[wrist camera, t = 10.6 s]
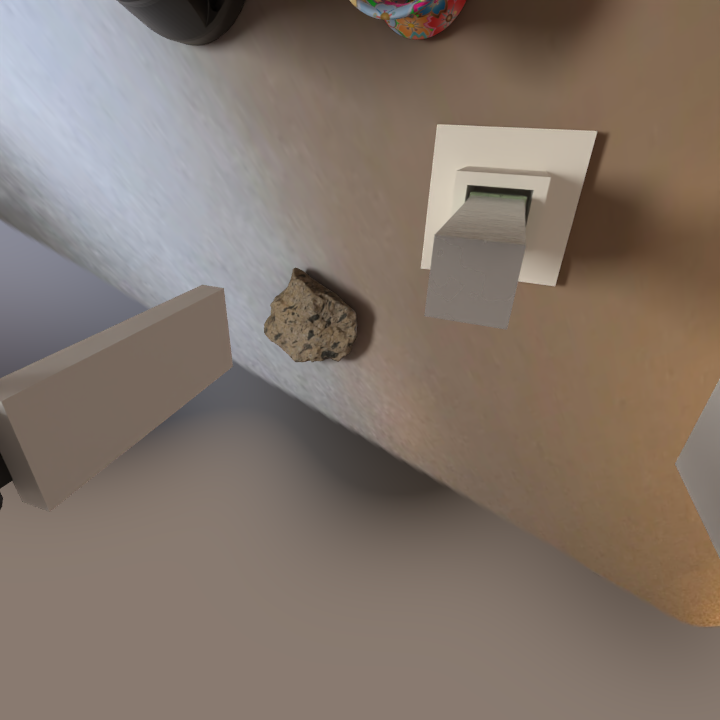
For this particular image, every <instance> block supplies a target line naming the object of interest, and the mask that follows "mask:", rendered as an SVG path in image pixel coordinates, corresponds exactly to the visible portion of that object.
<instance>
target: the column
mask: <svg viewBox="0 0 720 720" xmlns="http://www.w3.org/2000/svg"><path fill="white" fill-rule="evenodd" d="M526 200H527V196H524V195H515V194H503V193H491V192H479V191H475V192H471V193H470V197H469V199H468V200H467V201H466V202H465V203H464V204H463V205H462V206H461V207H460V208H459V209H458V210H457V211H456V212H455V214H454V215H453V216H452V217H451V218H450V219H449V220H448V221H447V222H446V223H445V224H444V225H443V226H442V227H441V229H440V230H439V231H438V232H437V233H436V234H435V235H434V243H433V251H432V259H431V267H430V275H429V283H428V291H427V299H426V307H425V315H424V316H427V317H433V318H440V319H446V320H452V321H458V322H464V323H470V324H476V325H482V326H488V327H494V328H500V329H507V327H508V323H509V318H510V314H511V310H512V305H513V301H514V296H515V292H516V288H517V283H518V279H519V275H520V270H521V266H522V261H523V257H524V253H525V248H526V227H525V204H526Z"/></svg>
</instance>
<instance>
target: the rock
mask: <svg viewBox="0 0 720 720" xmlns="http://www.w3.org/2000/svg"><path fill="white" fill-rule="evenodd" d="M270 306H271V307H272V308H271V316H269V317H268V319H267V320H266V322H265V324H264V326H265V327H264V333H265V335H266V336H267V337H268V338H269V339H270V340H271V341H272V342H274V343H276V344H277V345H278V346H280V347H281V348H282V349H283V350H284V351H285V352H286V353H287V354H289V356H290V357H291V358H292V359H293V360H294V361H295V362H306V361H309V360H310V361H312V362H314V361H323V360H325V359H327V358H331V359H333V360H335V361H339V360H341V359H342V358H343V357H345V356H346V355H347V354H349V353H350V351H351V349H352V344H353V342H354V341H355V339H356V334H357V330H356V328H357V316H356V313H355V311H354V310H353V309H352V308H351V307H350V306H348V305H347V304H346V303H344V302H343V301H342V300H341V298H340V297H339V296H338V295H337V294H335V293H334V292H331V291H330V290H328V289H327V288H325V287H324V286H322V285H321V284H320V283H319V282H317V281H315V280H314V279H312V278H311V277H310V276H309V275H308V274H306V273H305V272H304V271H302V270H300V269H298V268H294V269H293V273H292V277H291V280H290V282H289V285H288V287H287V288H286V289H285V290H284V291H283V292H282V293H280V294H279V295H278V296H276V297H275V299H274V301H273V302H272V303H271V305H270Z"/></svg>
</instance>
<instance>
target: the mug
mask: <svg viewBox="0 0 720 720" xmlns="http://www.w3.org/2000/svg"><path fill="white" fill-rule="evenodd" d="M350 2H351V3H352V4H353V5H354V6H355V7H356V8H358V9H359V10H360V11H362V12H363V13H365V14H367V15H368V16H371V17H373V18H376V19H381V20H385V22H386V23H387V24H388V26H389V27H390V28H391V29H392V30H393V31H395V32H396V33H397V34H399V35H401V36H403V37H405V38H409V39H425V38H429V37H432V36H434V35H436V34H438V33H440V32H441V31H443V30H444V29H445V28H447V27H448V26H449V25H450V24H451V23H452V22H453V21H454V19H455V18H456V17H457V16H458V14H459V13H460V11H461V10H462V8H463V6H464V4H465V2H466V0H350Z"/></svg>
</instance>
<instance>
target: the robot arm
mask: <svg viewBox="0 0 720 720" xmlns="http://www.w3.org/2000/svg"><path fill="white" fill-rule="evenodd" d="M117 1H118V2H119V3H120V4H122V5H123V6H124V7H125V8H126V9H127V10H129V11H130V12H131V13H132V14H133V15H134V16H136V17H137V18H138V19H139V20H140V21H142V22H143V23H144V24H145V25H146V26H147V27H149V28H150V29H151V30H153V31H154V32H156V33H157V34H159V35H161V36H163V37H165V38H167V39H170V40H173V41H177V42H180V43H184V44H189V45H201V44H206V43H209V42H212V41H214V40H216V39H217V38H219V37H220V36H221V35H223V34H224V33H225V32H226V31H227V30H228V29H229V28H230V27H231V25H232V24H233V23H234V21H235V20H236V18H237V16H238V15H239V13H240V11H241V9H242V6H243V4H244V1H245V0H117ZM232 366H233V364H232V355H231V347H230V338H229V330H228V321H227V313H226V304H225V295H224V288H219V287H213V286H207V285H201V286H199V287H197V288H195V289H192V290H190V291H188V292H186V293H184V294H182V295H179V296H177V297H175V298H173V299H171V300H169V301H167V302H164V303H162V304H160V305H158V306H156V307H154V308H151V309H149V310H147V311H145V312H143V313H141V314H138V315H136V316H134V317H132V318H130V319H128V320H126V321H123V322H121V323H119V324H117V325H115V326H113V327H110V328H108V329H106V330H104V331H102V332H100V333H97V334H95V335H93V336H91V337H89V338H87V339H84V340H82V341H80V342H78V343H76V344H74V345H72V346H69V347H67V348H65V349H63V350H61V351H59V352H56V353H54V354H52V355H50V356H48V357H46V358H43V359H41V360H39V361H37V362H35V363H33V364H31V365H28V366H26V367H24V368H22V369H20V370H18V371H16V372H13V373H11V374H9V375H7V376H5V377H2V378H0V488H2V487H3V486H5V485H6V484H8V483H9V482H11V481H13V483H14V485H15V487H16V489H17V491H18V494H19V496H20V498H21V500H22V502H24V503H27V504H30V505H33V506H35V507H38V508H40V509H43V510H46V511H48V512H50V511H51V510H53V509H54V508H55V507H56V506H58V505H59V504H60V503H61V502H63V501H64V500H65V499H66V498H68V497H69V496H70V495H72V494H73V493H74V492H75V491H77V490H78V489H79V488H80V487H82V486H83V485H84V484H85V483H86V482H87V481H89V480H90V479H92V478H93V477H94V476H95V475H96V474H98V473H99V472H100V471H102V470H103V469H104V468H106V467H107V466H108V465H109V464H111V463H112V462H113V461H114V460H116V459H117V458H118V457H119V456H121V455H122V454H123V453H124V452H126V451H127V450H128V449H129V448H131V447H132V446H133V445H134V444H136V443H137V442H138V441H140V440H141V439H142V438H143V437H145V436H146V435H147V434H148V433H150V432H151V431H152V430H153V429H155V428H156V427H157V426H158V425H160V424H161V423H162V422H163V421H165V420H166V419H167V418H168V417H170V416H171V415H172V414H173V413H175V412H176V411H177V410H178V409H180V408H181V407H182V406H183V405H185V404H186V403H187V402H188V401H190V400H191V399H192V398H193V397H195V396H196V395H197V394H199V393H200V392H201V391H202V390H204V389H205V388H206V387H207V386H209V385H210V384H211V383H212V382H214V381H215V380H216V379H218V378H219V377H220V376H221V375H223V374H224V373H225V372H226V371H228V370H229V369H230V368H231V367H232ZM675 465H676V467H677V469H678V471H679V473H680V475H681V477H682V480H683V482H684V484H685V486H686V488H687V490H688V492H689V494H690V496H691V499H692V501H693V503H694V505H695V507H696V509H697V511H698V513H699V515H700V518H701V520H702V522H703V524H704V526H705V528H706V530H707V532H708V534H709V537H710V539H711V541H712V543H713V545H714V547H715V549H716V551H717V553H718V556H719V558H720V379H719V381H718V383H717V385H716V387H715V389H714V391H713V393H712V394H711V396H710V398H709V400H708V402H707V404H706V406H705V408H704V410H703V412H702V414H701V415H700V417H699V419H698V421H697V423H696V425H695V427H694V429H693V431H692V433H691V435H690V436H689V438H688V440H687V442H686V444H685V446H684V448H683V450H682V452H681V454H680V455H679V457H678V459H677V461H676V463H675ZM2 501H3V497H2V495H1V493H0V509H1V507H2Z"/></svg>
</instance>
